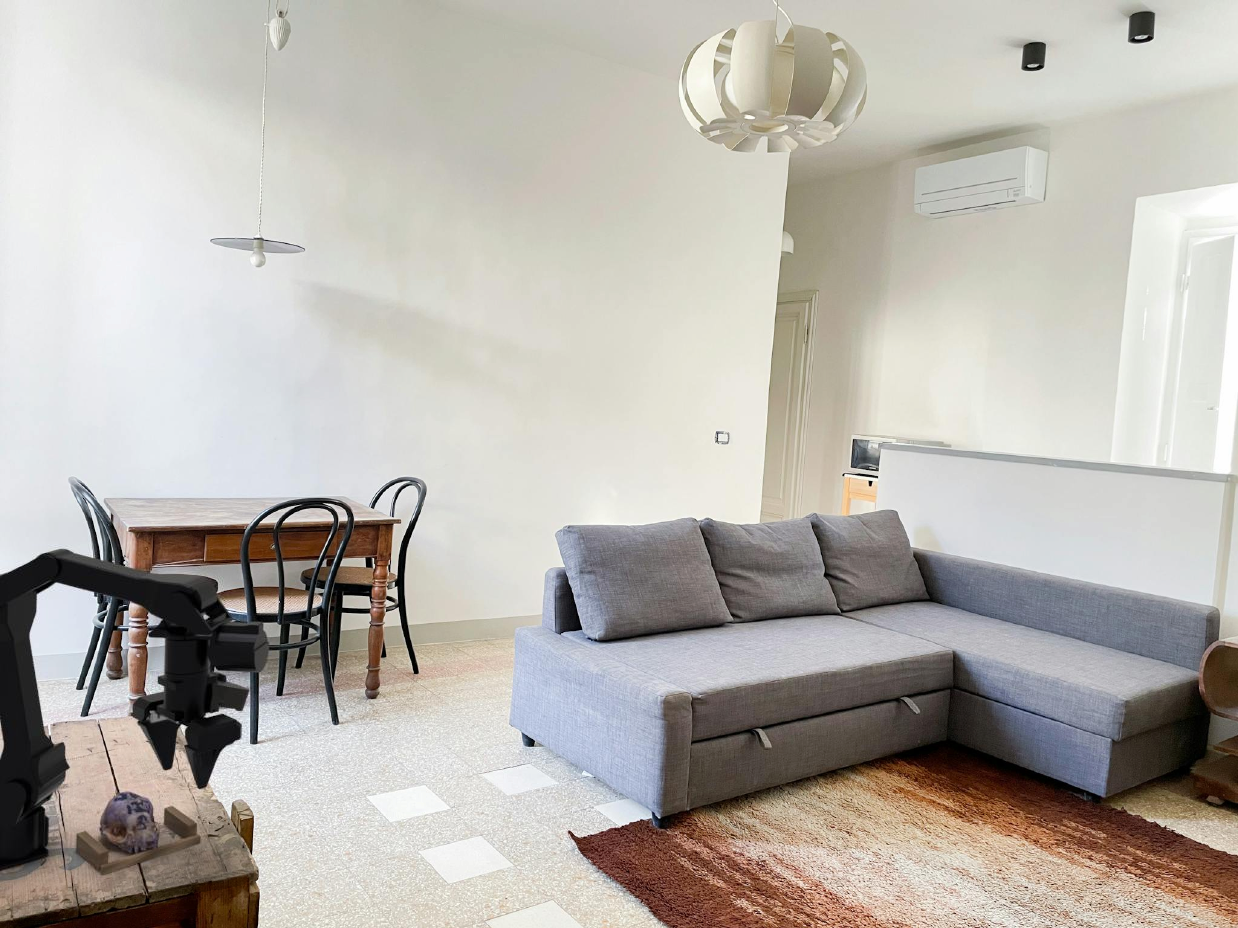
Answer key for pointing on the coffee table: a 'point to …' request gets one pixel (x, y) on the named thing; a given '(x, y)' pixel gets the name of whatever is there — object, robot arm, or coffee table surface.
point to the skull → (130, 822)
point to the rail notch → (100, 855)
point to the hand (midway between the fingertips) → (184, 778)
